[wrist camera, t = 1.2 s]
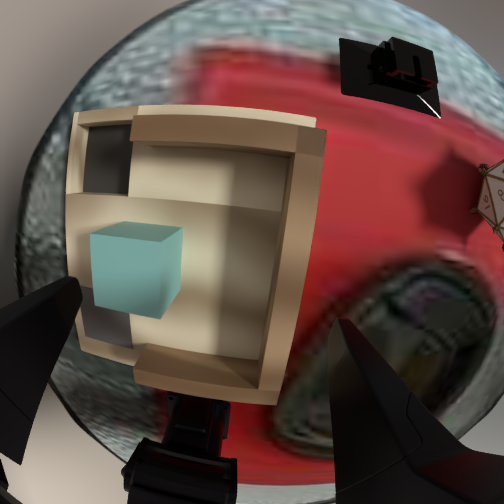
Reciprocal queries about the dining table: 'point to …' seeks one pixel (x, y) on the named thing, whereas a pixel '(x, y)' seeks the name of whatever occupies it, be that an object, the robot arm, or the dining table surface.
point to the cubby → (285, 263)
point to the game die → (492, 198)
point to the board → (180, 215)
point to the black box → (390, 74)
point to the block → (136, 267)
